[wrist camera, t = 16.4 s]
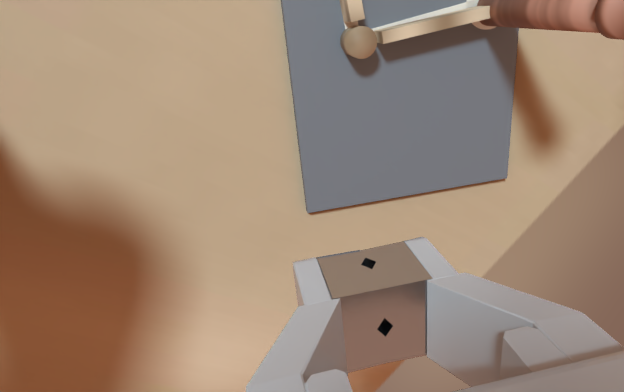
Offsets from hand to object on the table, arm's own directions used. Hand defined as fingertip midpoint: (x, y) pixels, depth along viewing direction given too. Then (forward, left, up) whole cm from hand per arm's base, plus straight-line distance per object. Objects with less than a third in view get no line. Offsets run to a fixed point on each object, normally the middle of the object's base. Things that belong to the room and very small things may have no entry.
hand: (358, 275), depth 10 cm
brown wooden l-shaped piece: (+17, +3, -32) cm, 36 cm away
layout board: (+14, 0, -33) cm, 36 cm away
